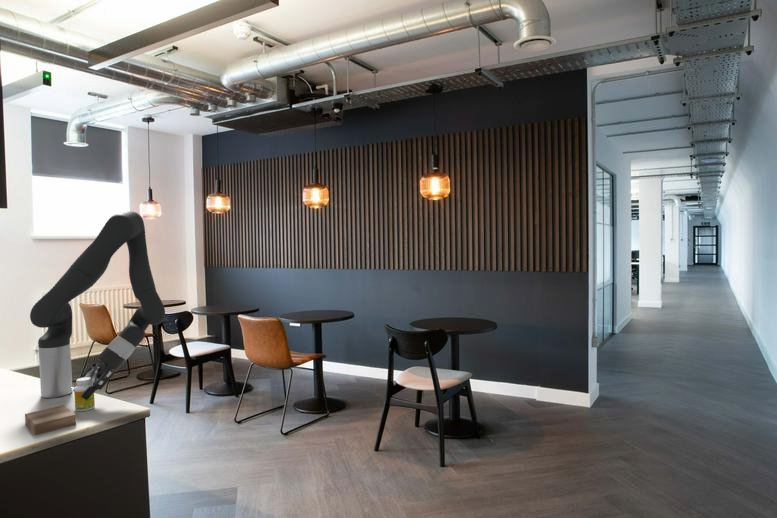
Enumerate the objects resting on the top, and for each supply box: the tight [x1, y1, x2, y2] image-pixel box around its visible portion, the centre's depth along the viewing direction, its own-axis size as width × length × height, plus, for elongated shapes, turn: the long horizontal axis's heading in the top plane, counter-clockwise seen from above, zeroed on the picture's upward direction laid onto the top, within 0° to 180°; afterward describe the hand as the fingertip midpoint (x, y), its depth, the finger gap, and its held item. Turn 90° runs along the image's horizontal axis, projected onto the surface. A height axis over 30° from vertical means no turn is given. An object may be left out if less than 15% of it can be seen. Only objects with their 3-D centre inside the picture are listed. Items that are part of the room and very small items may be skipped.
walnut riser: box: [24, 404, 77, 436], centre depth 149 cm, size 12×10×3 cm
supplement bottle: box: [73, 377, 96, 412], centre depth 162 cm, size 5×5×10 cm
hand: (79, 395), depth 161 cm, fingers open, 8 cm apart
